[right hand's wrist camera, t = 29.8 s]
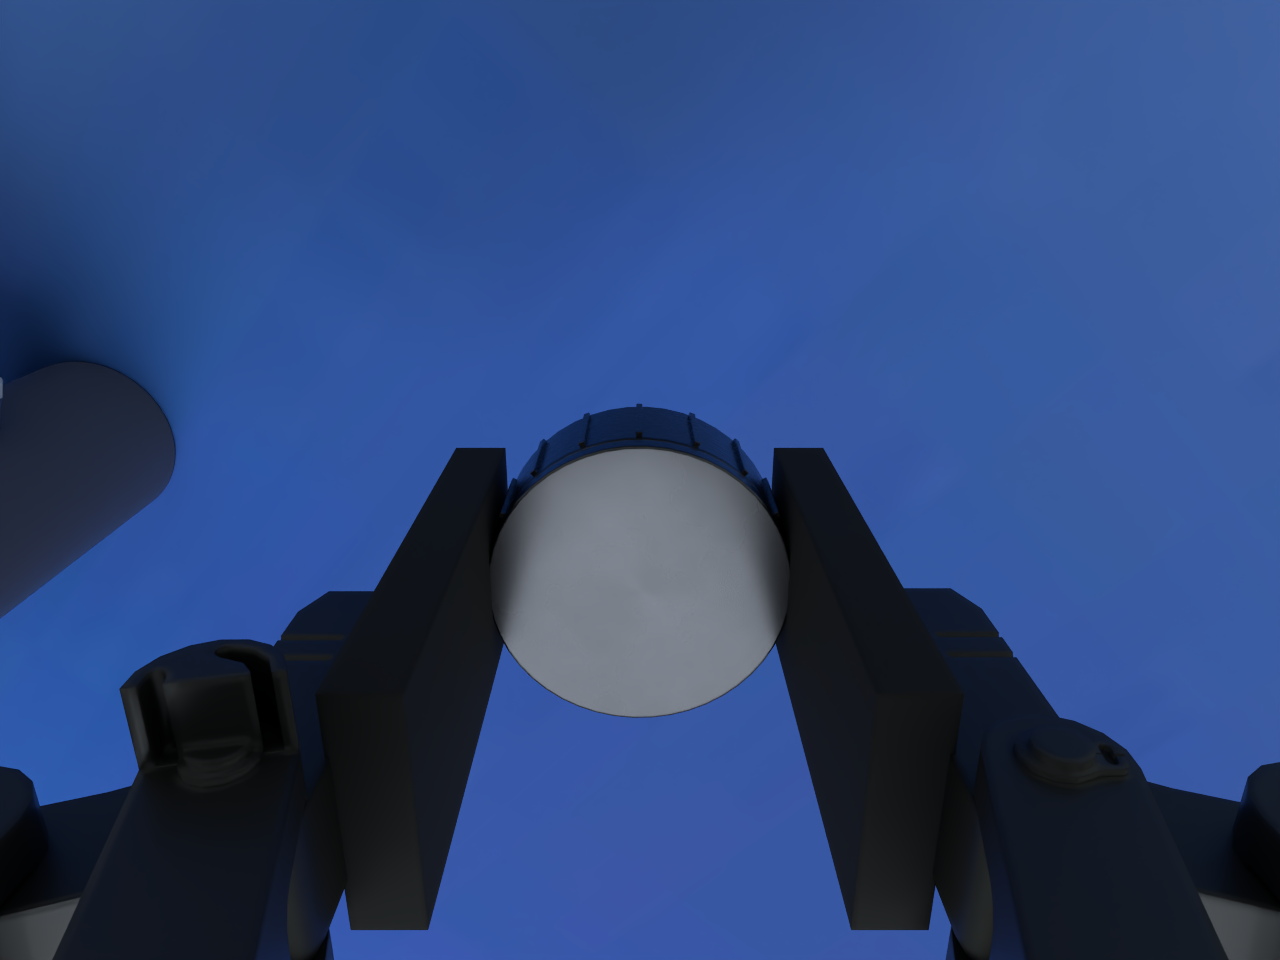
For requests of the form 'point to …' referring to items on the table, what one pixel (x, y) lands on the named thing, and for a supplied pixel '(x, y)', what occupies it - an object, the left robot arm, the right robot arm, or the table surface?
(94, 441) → the bottle
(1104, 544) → the table surface
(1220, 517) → the table surface
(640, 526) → the cap
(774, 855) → the table surface
